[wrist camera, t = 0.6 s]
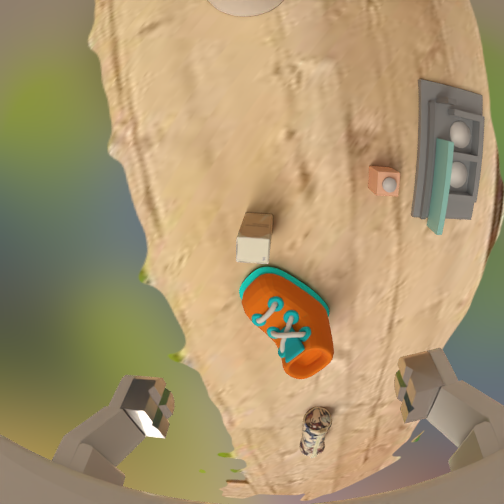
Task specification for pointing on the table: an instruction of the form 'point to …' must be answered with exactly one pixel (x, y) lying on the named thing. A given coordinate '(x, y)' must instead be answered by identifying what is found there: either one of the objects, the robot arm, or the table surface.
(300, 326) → the toy shoe
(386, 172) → the peach button block
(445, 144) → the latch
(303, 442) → the pencil case
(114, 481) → the robot arm
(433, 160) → the housing
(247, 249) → the box
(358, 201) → the table surface
